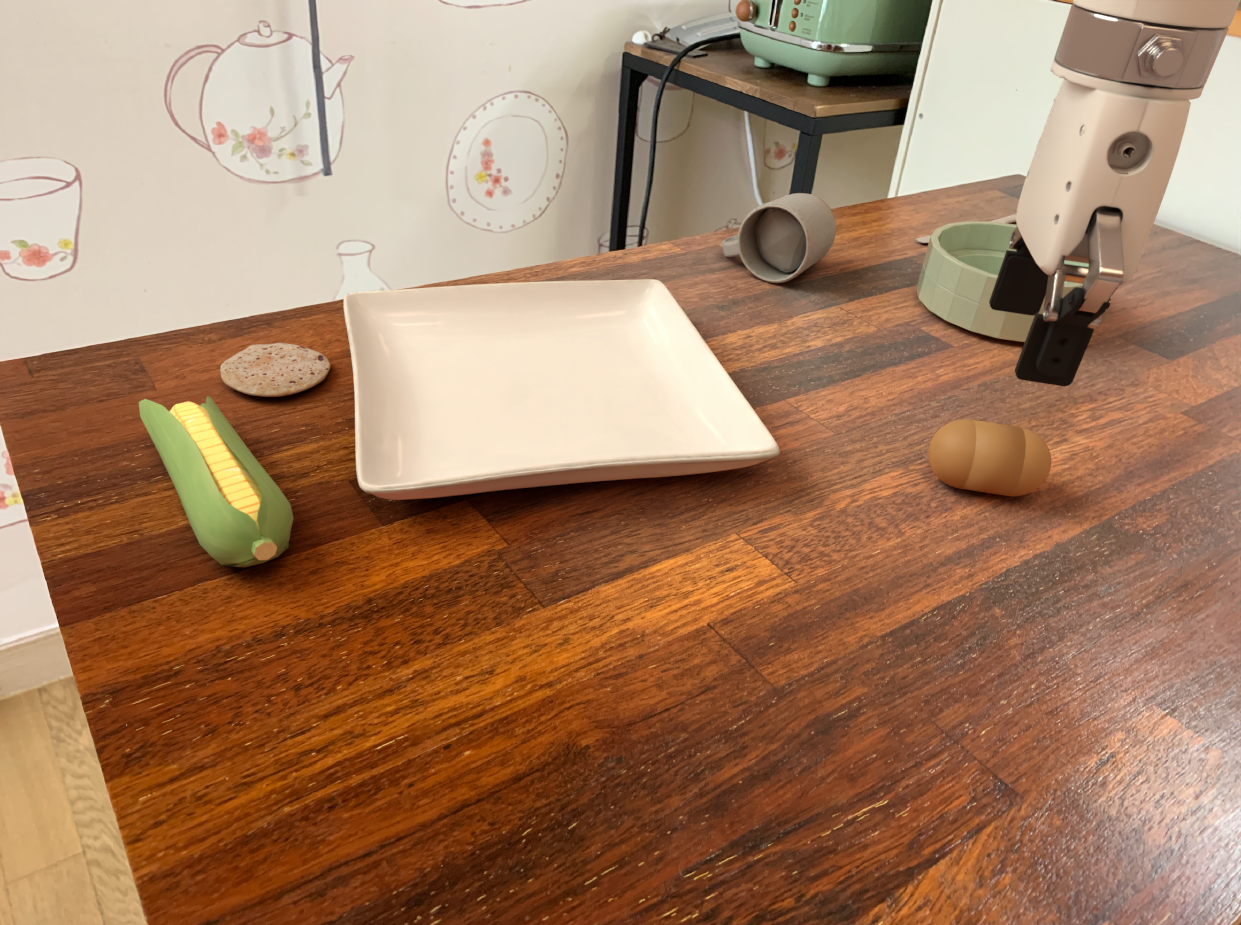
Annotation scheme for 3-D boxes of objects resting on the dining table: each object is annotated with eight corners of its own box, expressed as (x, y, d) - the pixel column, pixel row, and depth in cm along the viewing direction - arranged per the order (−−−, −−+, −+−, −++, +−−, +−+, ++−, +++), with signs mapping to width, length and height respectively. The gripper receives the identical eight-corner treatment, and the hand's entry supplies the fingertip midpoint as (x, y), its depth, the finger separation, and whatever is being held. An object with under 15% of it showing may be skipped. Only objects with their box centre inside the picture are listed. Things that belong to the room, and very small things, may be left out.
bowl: (1061, 289, 95) (1082, 233, 92) (1098, 359, 83) (1124, 297, 79) (909, 268, 97) (924, 212, 93) (922, 334, 84) (940, 272, 81)
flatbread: (350, 377, 71) (349, 365, 70) (261, 413, 66) (259, 402, 65) (288, 340, 75) (286, 328, 74) (199, 371, 70) (197, 360, 69)
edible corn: (224, 603, 51) (209, 538, 48) (133, 428, 63) (118, 369, 61) (316, 570, 53) (307, 507, 51) (212, 408, 66) (200, 351, 64)
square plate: (363, 539, 56) (357, 487, 54) (346, 330, 77) (341, 287, 75) (777, 491, 63) (787, 443, 61) (657, 312, 84) (661, 271, 82)
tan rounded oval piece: (1030, 475, 67) (1053, 418, 64) (1044, 515, 63) (1068, 457, 60) (917, 457, 67) (935, 401, 65) (923, 496, 64) (942, 438, 61)
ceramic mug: (833, 267, 95) (848, 193, 91) (801, 293, 90) (815, 215, 85) (741, 242, 100) (751, 170, 95) (704, 264, 94) (713, 189, 90)
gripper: (1275, 101, 41) (1124, 424, 51) (1158, 33, 56) (1057, 297, 65) (1102, 79, 42) (985, 402, 52) (1030, 18, 56) (949, 281, 66)
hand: (1026, 343), depth 59 cm, fingers open, 9 cm apart
